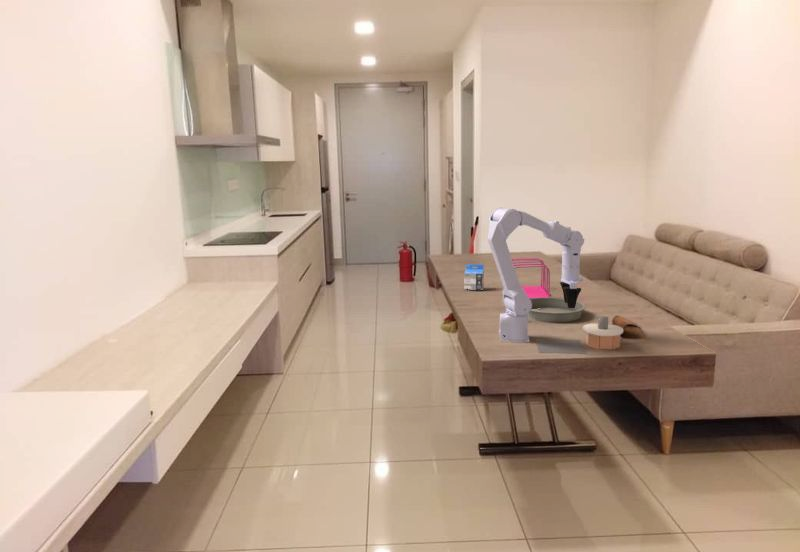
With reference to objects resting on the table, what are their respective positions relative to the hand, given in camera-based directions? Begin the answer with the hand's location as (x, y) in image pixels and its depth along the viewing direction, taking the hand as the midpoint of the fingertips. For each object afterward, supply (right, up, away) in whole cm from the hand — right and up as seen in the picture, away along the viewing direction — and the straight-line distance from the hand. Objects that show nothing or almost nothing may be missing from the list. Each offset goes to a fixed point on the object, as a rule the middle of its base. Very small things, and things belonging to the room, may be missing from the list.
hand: (569, 305), depth 189 cm
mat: (-7, -13, -13) cm, 19 cm away
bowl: (+7, -12, -13) cm, 19 cm away
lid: (+6, -7, -13) cm, 17 cm away
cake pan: (+1, -6, +27) cm, 27 cm away
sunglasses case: (+21, -10, +2) cm, 23 cm away
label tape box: (-23, +3, +75) cm, 78 cm away
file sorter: (0, +1, +61) cm, 61 cm away
